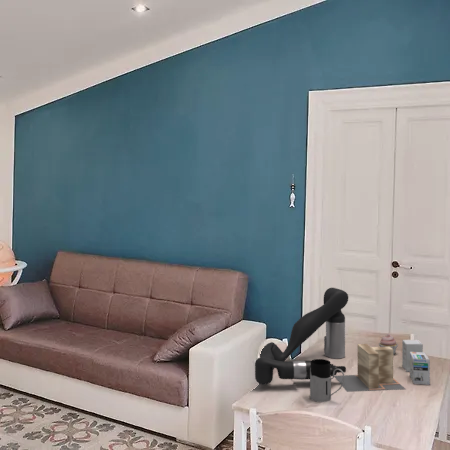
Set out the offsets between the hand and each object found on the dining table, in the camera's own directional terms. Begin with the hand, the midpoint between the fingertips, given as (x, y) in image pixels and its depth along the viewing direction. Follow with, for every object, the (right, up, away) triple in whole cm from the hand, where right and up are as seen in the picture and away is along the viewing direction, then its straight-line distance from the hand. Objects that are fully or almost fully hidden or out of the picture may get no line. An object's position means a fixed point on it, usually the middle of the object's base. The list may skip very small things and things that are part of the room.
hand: (345, 369), depth 218 cm
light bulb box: (+33, -7, +6) cm, 34 cm away
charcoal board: (+10, -7, +1) cm, 12 cm away
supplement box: (+35, -6, +20) cm, 41 cm away
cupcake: (+31, -5, +45) cm, 55 cm away
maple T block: (+14, -6, +2) cm, 15 cm away
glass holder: (-11, -8, -17) cm, 22 cm away
